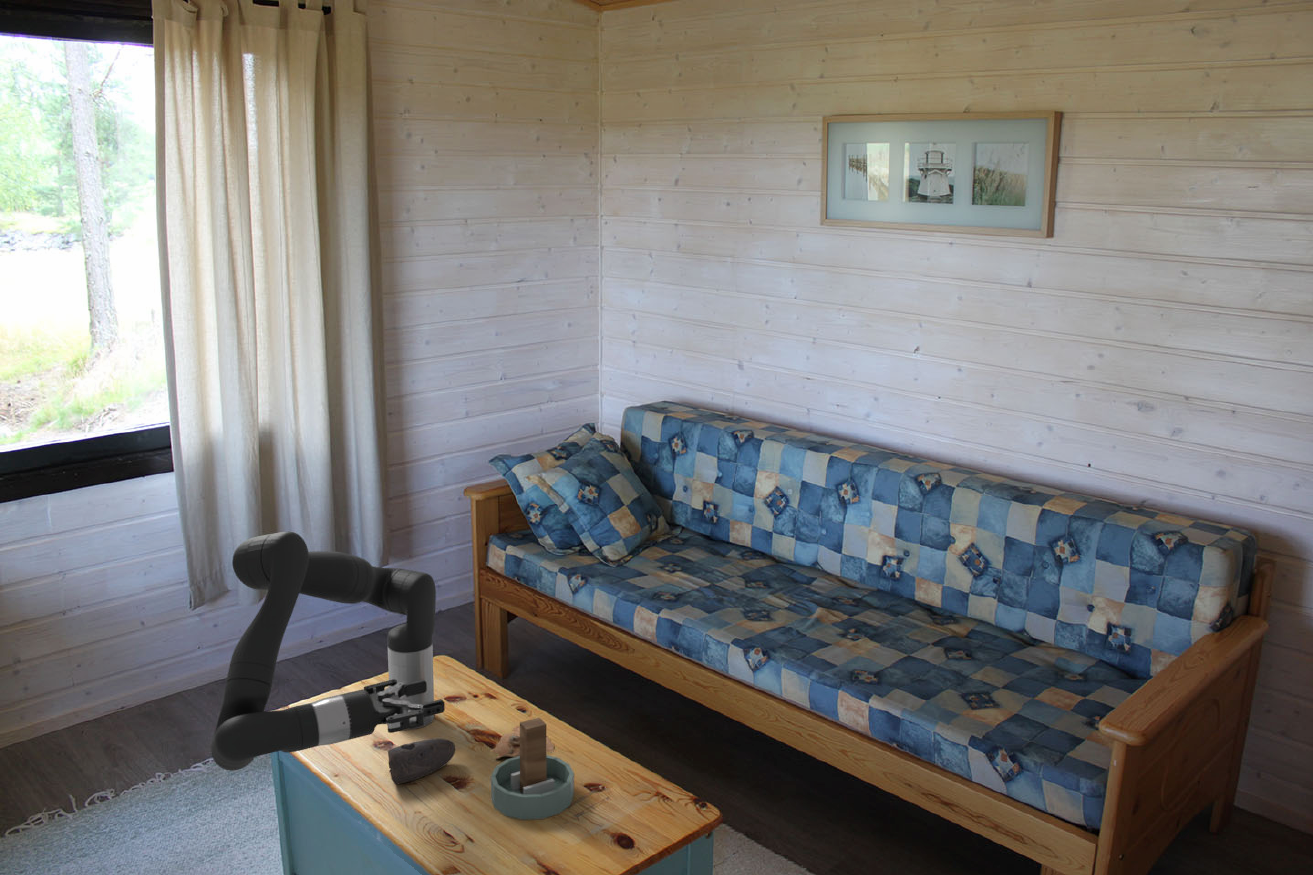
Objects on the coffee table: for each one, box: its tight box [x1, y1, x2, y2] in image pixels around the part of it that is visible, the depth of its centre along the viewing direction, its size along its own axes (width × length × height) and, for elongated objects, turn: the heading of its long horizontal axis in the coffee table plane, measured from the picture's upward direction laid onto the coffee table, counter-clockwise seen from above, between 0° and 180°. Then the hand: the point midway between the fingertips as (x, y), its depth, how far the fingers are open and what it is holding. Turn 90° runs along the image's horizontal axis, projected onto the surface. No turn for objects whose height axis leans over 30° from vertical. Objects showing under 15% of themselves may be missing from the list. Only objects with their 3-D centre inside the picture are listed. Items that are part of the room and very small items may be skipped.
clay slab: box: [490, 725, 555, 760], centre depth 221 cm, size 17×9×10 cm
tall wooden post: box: [519, 717, 547, 794], centre depth 200 cm, size 3×4×14 cm
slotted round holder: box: [490, 754, 575, 821], centre depth 202 cm, size 15×15×4 cm
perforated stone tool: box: [387, 737, 456, 785], centre depth 208 cm, size 15×5×7 cm, turn 130°
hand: (434, 695), depth 187 cm, fingers open, 8 cm apart
